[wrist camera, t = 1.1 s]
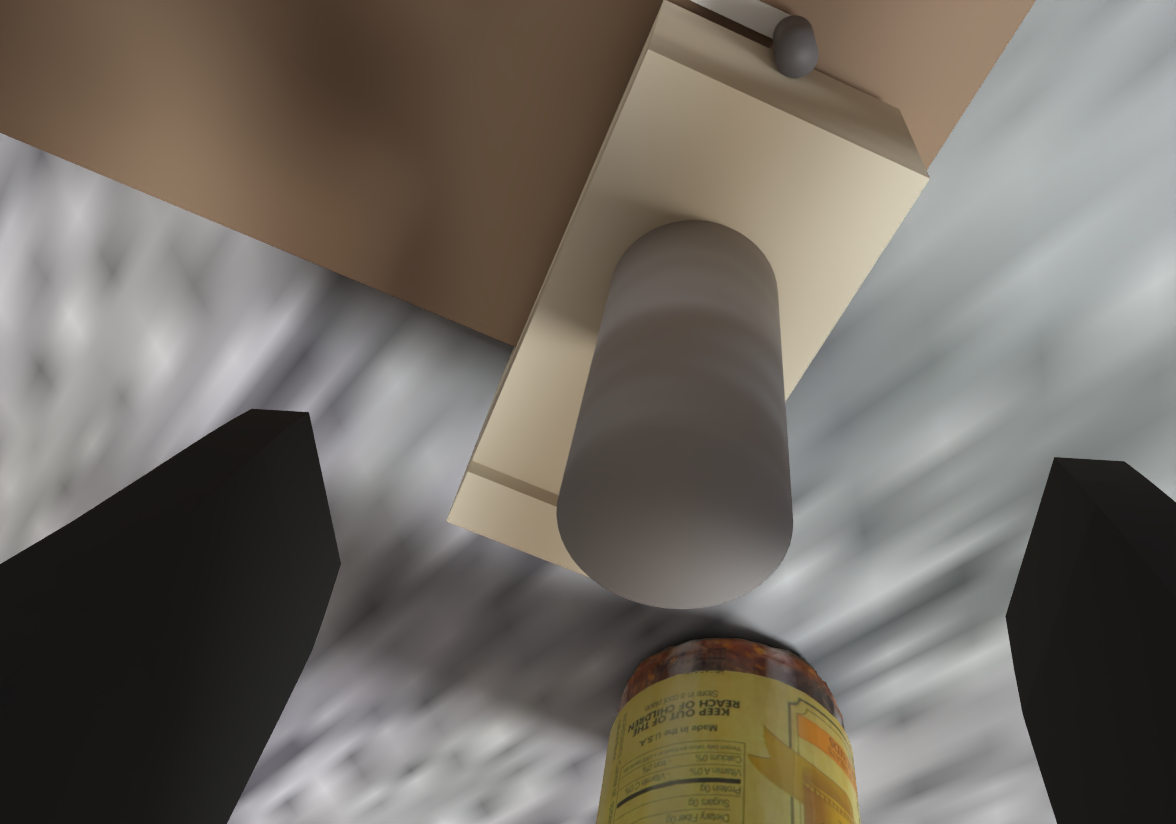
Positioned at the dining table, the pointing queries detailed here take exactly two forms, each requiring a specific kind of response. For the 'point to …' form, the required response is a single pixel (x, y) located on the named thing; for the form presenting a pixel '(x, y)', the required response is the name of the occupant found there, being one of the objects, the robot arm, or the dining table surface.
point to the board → (419, 115)
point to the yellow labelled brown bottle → (728, 741)
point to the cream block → (689, 317)
